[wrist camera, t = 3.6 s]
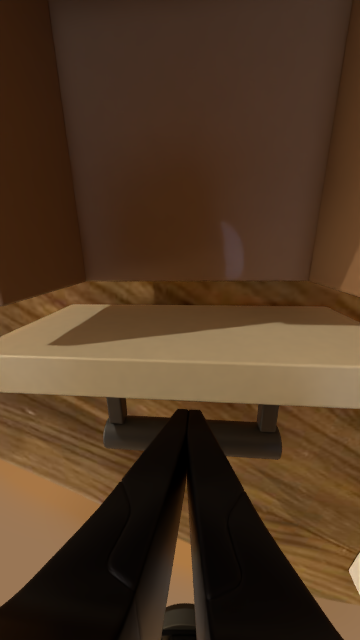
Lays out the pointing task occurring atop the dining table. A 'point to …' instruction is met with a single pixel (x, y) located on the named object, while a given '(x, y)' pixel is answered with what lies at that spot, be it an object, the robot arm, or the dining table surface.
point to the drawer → (181, 202)
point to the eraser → (356, 572)
